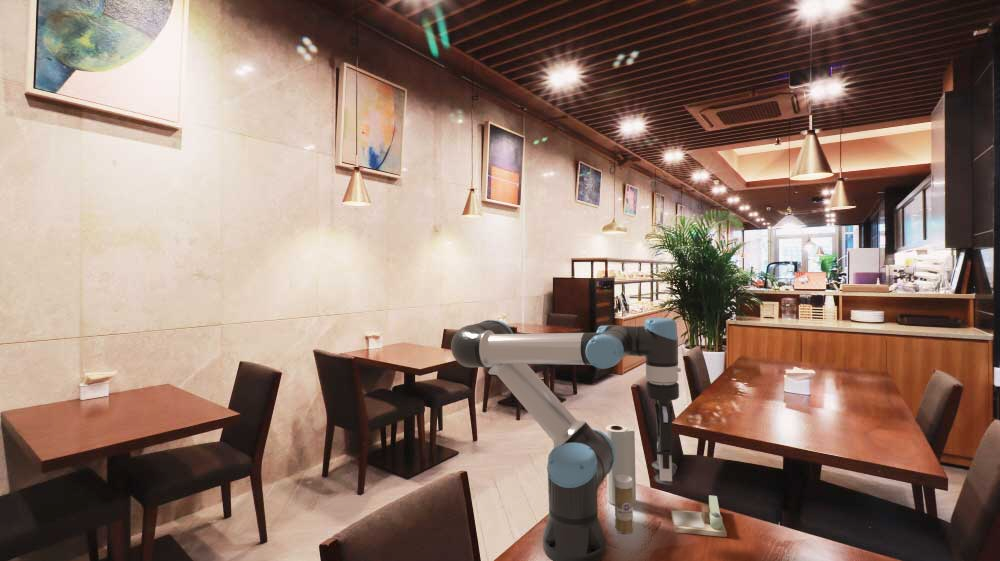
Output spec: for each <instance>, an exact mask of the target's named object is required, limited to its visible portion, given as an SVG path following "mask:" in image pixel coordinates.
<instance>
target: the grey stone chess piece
mask: <svg viewBox="0 0 1000 561" xmlns="http://www.w3.org/2000/svg"><path fill="white" fill-rule="evenodd" d="M657 443H658V448H657V447H656V449H655V450H656V452H657V451H658V452H660V438H659V437H658V441H657ZM651 467H652V468H653V471H654V473H655V474H656V475H654V476H653V481H654V482H655V483H658V484H661V485H665V486H670V485H671V486H672V485H674V484H676V483H677V479H676V478H675V474H676V471H677V469H678V466H677V464H676V463H674V462H672V481H660V463H659V455H658V458H657V460H655V461H653V462H652V463H651Z"/></svg>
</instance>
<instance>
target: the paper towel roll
mask: <svg viewBox="0 0 1000 561" xmlns="http://www.w3.org/2000/svg"><path fill="white" fill-rule="evenodd" d="M635 432H636V431H635V430H628V427H627V426H624V425H621V424H609V425H607V426H605V435H606V436H607V437H608V438H609V439H610V440H611V442H612V444H613V447H614V451H615V459H614V463H613V466H612V469H611V471H610V472H609V474H607V475H606V491H607V492H606V494H607V495H606V496H607V502H608V503H609V504H612V505H614V506H615V485H614V477H615V476H616V475H627V476H630V477H631V478H632V482H633V486H632V505H634V506H635V505H637V491H636V490H637V489H636V485H637V482H636V480H637V479H636V445H635V444H636V443H635V442H636V438H635V436H636V435H635Z"/></svg>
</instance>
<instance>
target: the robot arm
mask: <svg viewBox="0 0 1000 561" xmlns="http://www.w3.org/2000/svg"><path fill="white" fill-rule="evenodd" d="M450 348H451V349H450V350H451V353H452V356H453V358H454V360H455V361H456V362H457V363H458V364H460V366H463V367H466V368H484V369H485V371H486V372H487V373H488V374H489V375H493V376H494V375H495V376H497V377H498V378H499V380H501V381H502V383H503V384H504V385H505V386H506V387H507V389H508V390H509V391H510V392H511V394H512V395H513V396H514V397H515V398H516V399H517V401H519V403H520V404H521V405H522V407H523V408H524V409H525V410H526V411H527V412H528V413H529V414H530V415H531V417H532V418H533V419H534V420H535V422H536V423H537V424H538V425H539V427H540V428H542V430H543V431H544V432H545V433H546V435H547V436H548V437H549V438H550V439H551V440H552V442H553V448H552V450H550V452H549V454H548V458H547V465H546V466H547V467H546V471H547V487H548V516H547V521H546V523H545V527H544V529H543V534H542V549H543V551H544V553H545V555H546V556H547V557H549V559H551V560H552V561H601V559H603V558H604V557H605V555H606V552H607V542H606V541H607V540H606V536H605V534H604V530H603V527H602V525H601V522H600V519H599V513H598V510H599V509H598V507H599V506H598V504H599V503H598V491H599V488H600V486H601V485H602V483H603V482H604V480H605V478H607V474H609V472H610V471H611V469H612V466H613V463H614V459H615V451H614V447H613V444H612V442H611V440H610V439H609V438H608V437H607V436H606V433H604V432H602V431H601V430H597V429H594V428H592V427H591V426H590V425H589V424H588V422H586V421H585V420H578V419H576V418H575V416H573V414H572V413H571V412H570V411H569V410H568V408H567V407H566V406H565V405H564V404H563V403H562V402H561V400H560V399H559V398H558V397H557V396H556V395H555V394H554V393H553V392H552V390H551V389H550V388H549V387H548V386H547V384H545V383H544V382H543V380H542V379H541V378H540V377H539V376H538V375H537V374H536V372H535V371H534V370H533V369H532V368H531V367H530V366H529V365H572V366H573V365H577V366H578V365H582V366H593V367H595V368H597V369H601V370H602V369H603V370H604V369H609V368H612V367H615V366H616V365H618V364H619V363H620V361H622V360H623V359H624V358H626V357H627V356H628V357H629V356H631V357H645V379H646V380H647V381H646V396H647V397H648V398H649V399H650V400H654V401H655V402H654V403H653V408H654V416H655V421H656V422H655V423H656V425H655V426H656V428H655V429H656V433H655V435H656V437H657V438H656V441H657V442H656V449H657V448H658V437H659V438H660V452H658V451H657V450H656V455H657V456H656V457H657V459H658V455H659V463H660V481H672V477H673V476H672V463H673V460H672V456H673V454H674V453H673V444H672V443H673V442H672V441H673V437H672V424H673V423H672V420H673V419H672V417H673V416H672V414H673V407H672V403H670V401H676V400H678V399H679V397H680V385H679V383H678V381H679V373H681V372H682V369H681V368H680V367H679V336H678V327H677V322H676V320H674V318H669V317H650V318H646V319H645V321H644V324H643V325H641V326H640V325H639V326H638V325H637V326H636V325H635V326H634V325H615V324H610V325H609V324H607V325H600V326H599V327H598V328H597V330H596V332H565V333H564V332H561V333H560V332H559V333H558V332H557V333H556V332H555V333H553V332H552V333H548V332H547V333H514V332H513V331H512V329H511V327H510V326H509V325H508V324H506V323H505V322H504V321H501V320H495V319H487V320H484V321H480V322H478V323H473V324H469V325H466V326H463V327H461V328H460V329H458V330H457V331H456V332H455V333H454V335H453V337H452V339H451V345H450Z"/></svg>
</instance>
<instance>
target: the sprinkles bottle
mask: <svg viewBox="0 0 1000 561" xmlns="http://www.w3.org/2000/svg"><path fill="white" fill-rule="evenodd" d="M614 485H615V505H614V516H615V517H614V518H615V525H614V528H615V530H616V531H617V532H618V533H621V534H630V533H633V531H634V527H633V526H634V524H633V523H634V522H633V516H634V514H633V513H634V510H633V509H634V508H633V507H634V506H633V505H634V504H633V505H632V486H633V482H632V478H631V477H630V476H627V475H616V476H615V477H614Z"/></svg>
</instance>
